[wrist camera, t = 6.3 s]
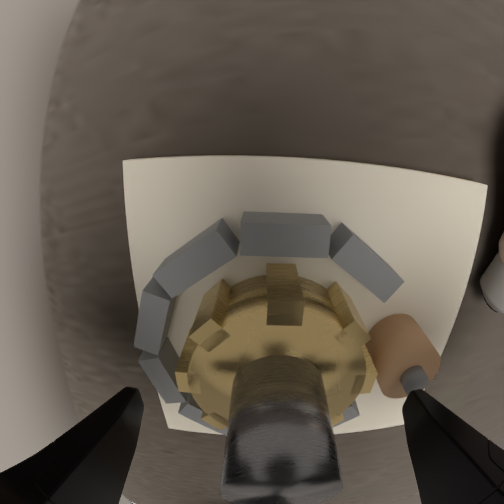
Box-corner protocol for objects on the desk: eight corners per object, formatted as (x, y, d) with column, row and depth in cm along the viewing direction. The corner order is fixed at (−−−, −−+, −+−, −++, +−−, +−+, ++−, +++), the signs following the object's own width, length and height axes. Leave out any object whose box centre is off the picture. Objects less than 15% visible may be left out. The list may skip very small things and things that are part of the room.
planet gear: (340, 394, 13) (367, 514, 6) (198, 392, 13) (171, 515, 7) (372, 265, 10) (467, 396, 4) (184, 260, 10) (102, 402, 4)
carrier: (400, 412, 15) (419, 461, 11) (172, 415, 15) (156, 469, 11) (474, 181, 10) (537, 201, 6) (134, 158, 10) (74, 170, 6)
